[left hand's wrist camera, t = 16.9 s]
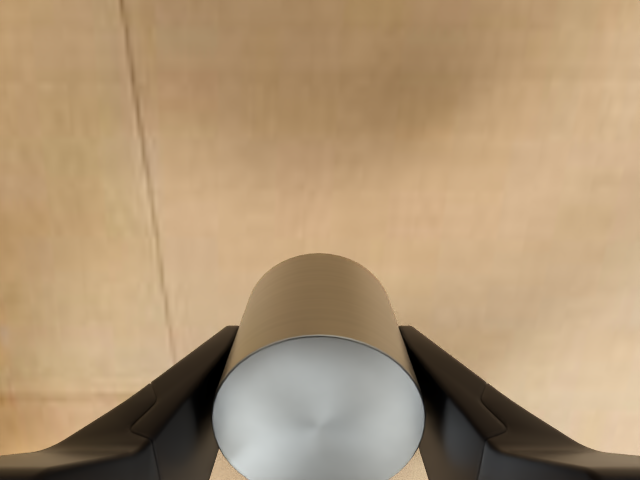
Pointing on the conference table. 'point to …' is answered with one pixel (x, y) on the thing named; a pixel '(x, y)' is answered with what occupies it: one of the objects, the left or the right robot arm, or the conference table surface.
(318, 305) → the can
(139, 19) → the conference table surface
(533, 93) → the conference table surface
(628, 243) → the conference table surface
